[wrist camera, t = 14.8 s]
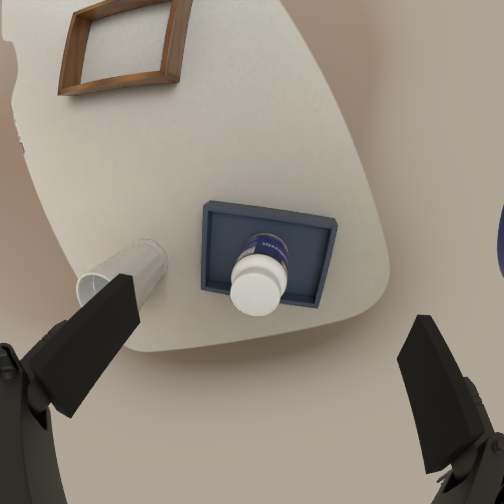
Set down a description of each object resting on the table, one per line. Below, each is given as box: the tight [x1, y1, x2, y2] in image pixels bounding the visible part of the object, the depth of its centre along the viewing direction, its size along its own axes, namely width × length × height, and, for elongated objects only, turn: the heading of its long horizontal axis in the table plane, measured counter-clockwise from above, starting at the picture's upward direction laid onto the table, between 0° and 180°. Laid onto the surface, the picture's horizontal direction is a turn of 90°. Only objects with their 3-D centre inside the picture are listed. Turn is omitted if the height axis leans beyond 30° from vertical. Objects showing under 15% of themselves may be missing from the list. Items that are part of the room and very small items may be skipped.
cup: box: [76, 239, 168, 312], centre depth 33 cm, size 8×8×12 cm
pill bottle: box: [230, 233, 289, 316], centre depth 30 cm, size 6×6×10 cm
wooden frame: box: [58, 0, 193, 96], centre depth 24 cm, size 18×14×4 cm
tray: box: [201, 201, 338, 308], centre depth 34 cm, size 15×11×3 cm
